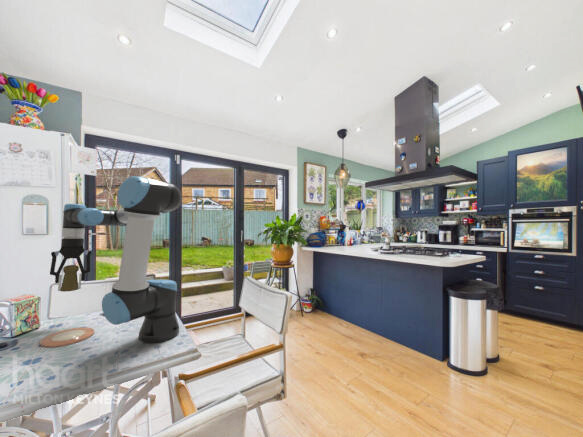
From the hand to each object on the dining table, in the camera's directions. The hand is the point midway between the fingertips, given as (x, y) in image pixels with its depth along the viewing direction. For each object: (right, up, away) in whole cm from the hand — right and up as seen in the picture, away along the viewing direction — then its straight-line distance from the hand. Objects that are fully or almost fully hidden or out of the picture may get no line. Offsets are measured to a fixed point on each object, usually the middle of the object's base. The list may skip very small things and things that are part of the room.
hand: (69, 289), depth 107 cm
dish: (+9, -17, -11) cm, 22 cm away
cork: (0, 0, 0) cm, 1 cm away
